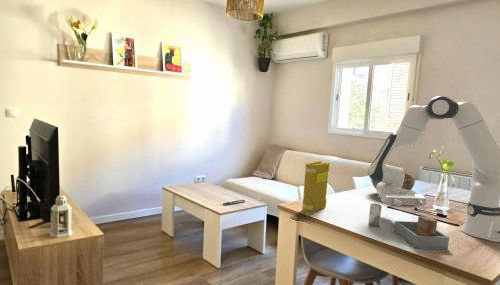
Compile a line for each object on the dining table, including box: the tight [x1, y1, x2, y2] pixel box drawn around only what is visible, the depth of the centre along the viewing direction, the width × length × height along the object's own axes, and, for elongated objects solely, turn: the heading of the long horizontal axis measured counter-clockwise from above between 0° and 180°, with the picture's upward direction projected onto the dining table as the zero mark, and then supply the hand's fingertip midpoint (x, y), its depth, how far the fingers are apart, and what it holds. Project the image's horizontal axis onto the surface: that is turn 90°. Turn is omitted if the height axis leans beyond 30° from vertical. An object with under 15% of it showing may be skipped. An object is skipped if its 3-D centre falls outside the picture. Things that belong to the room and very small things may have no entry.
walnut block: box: [416, 215, 438, 236], centre depth 137 cm, size 5×5×10 cm
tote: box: [393, 220, 450, 250], centre depth 141 cm, size 14×18×5 cm
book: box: [301, 160, 331, 214], centre depth 175 cm, size 17×7×25 cm, turn 141°
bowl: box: [370, 173, 416, 190], centre depth 213 cm, size 28×27×15 cm
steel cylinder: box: [368, 203, 382, 228], centre depth 156 cm, size 5×5×10 cm
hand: (412, 204), depth 148 cm, fingers open, 8 cm apart
